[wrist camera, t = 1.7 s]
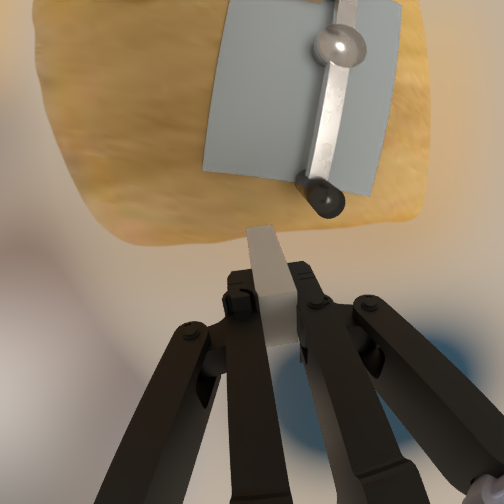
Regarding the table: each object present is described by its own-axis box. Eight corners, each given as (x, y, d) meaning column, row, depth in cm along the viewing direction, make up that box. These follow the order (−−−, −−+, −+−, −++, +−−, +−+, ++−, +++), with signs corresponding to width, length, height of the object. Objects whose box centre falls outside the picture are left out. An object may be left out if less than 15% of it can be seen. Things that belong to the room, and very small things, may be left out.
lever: (319, -23, 17) (344, -53, 10) (358, -10, 17) (391, -33, 11) (283, 189, 28) (300, 214, 22) (323, 195, 29) (350, 222, 22)
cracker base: (240, -38, 17) (241, -51, 14) (396, 7, 19) (409, 1, 16) (203, 168, 28) (200, 174, 25) (365, 193, 30) (376, 201, 28)
